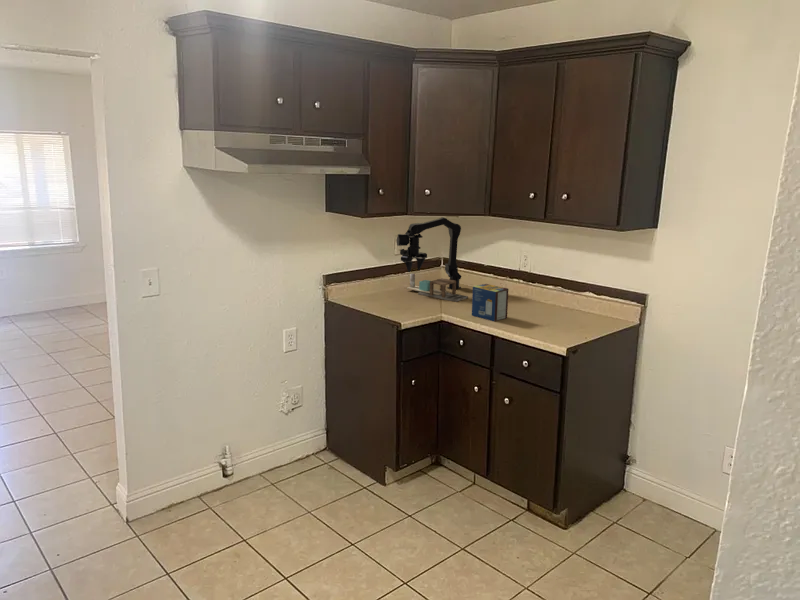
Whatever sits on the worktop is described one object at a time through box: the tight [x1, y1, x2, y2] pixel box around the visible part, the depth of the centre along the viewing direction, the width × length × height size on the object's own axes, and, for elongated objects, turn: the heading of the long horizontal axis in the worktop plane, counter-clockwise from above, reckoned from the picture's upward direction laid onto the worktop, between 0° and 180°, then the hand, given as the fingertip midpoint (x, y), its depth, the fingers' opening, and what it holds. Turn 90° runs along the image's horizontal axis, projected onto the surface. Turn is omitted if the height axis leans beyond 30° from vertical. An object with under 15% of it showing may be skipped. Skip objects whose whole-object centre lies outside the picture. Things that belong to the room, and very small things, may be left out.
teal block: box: [418, 279, 431, 291], centre depth 368 cm, size 6×6×5 cm
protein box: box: [471, 283, 509, 322], centre depth 318 cm, size 10×15×16 cm
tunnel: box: [417, 277, 469, 302], centre depth 361 cm, size 12×27×9 cm, turn 51°
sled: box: [406, 273, 447, 295], centre depth 368 cm, size 8×24×9 cm, turn 51°
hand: (413, 271), depth 373 cm, fingers open, 9 cm apart
